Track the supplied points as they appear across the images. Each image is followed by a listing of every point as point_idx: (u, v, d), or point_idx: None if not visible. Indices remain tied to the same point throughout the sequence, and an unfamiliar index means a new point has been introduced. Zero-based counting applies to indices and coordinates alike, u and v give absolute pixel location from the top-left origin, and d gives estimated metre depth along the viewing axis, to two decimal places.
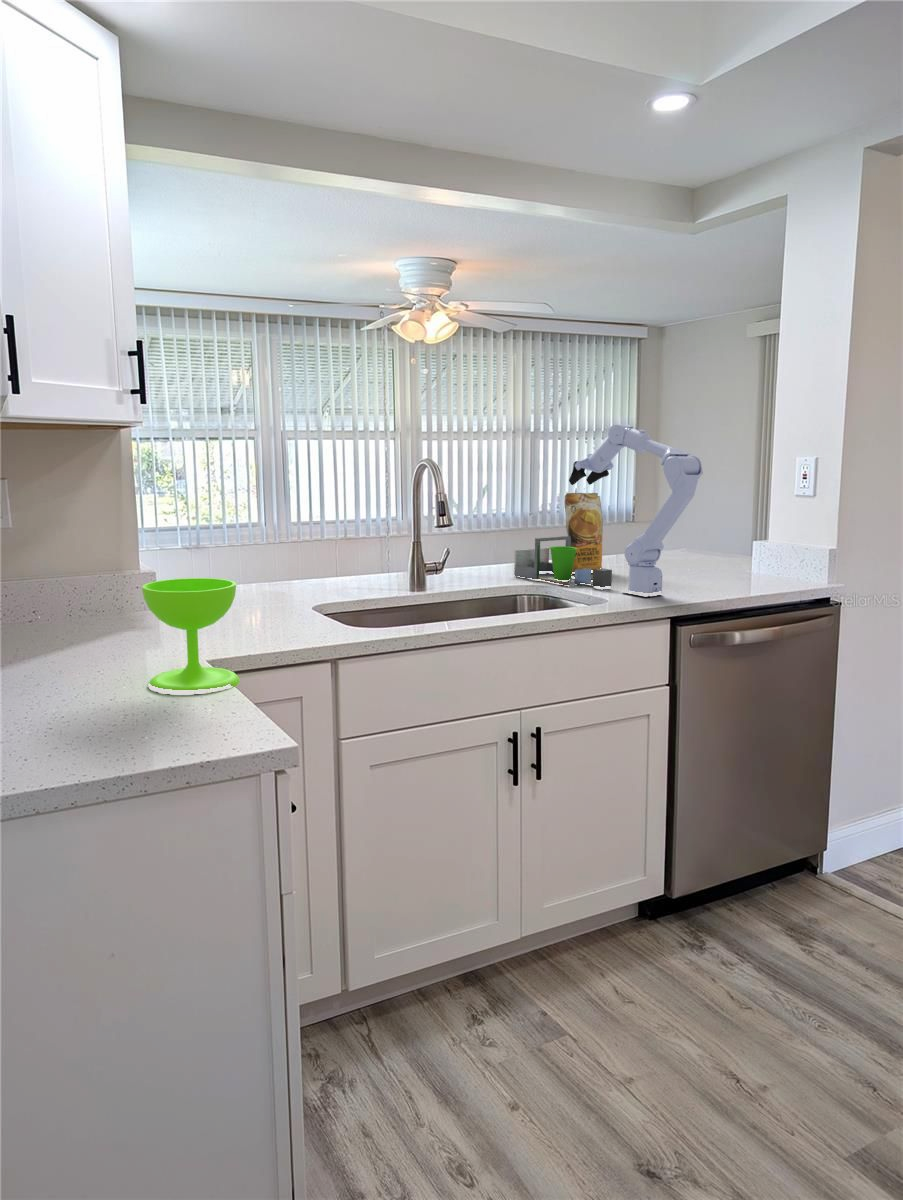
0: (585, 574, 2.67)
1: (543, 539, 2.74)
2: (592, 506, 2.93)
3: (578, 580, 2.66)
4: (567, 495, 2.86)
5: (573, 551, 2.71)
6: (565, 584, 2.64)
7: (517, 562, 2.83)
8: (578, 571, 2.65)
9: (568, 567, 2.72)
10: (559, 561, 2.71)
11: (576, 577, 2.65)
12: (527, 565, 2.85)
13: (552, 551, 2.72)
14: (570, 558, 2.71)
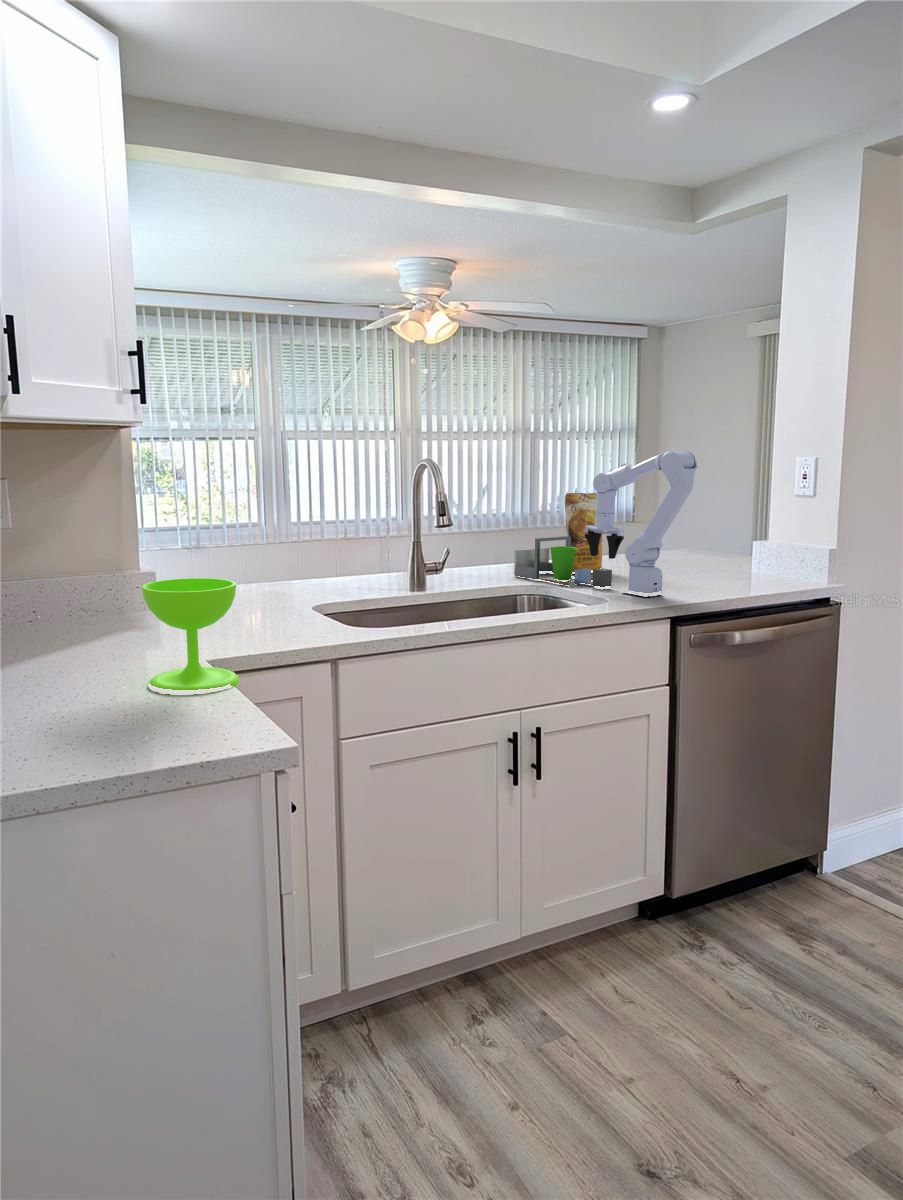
0: (585, 574, 2.67)
1: (543, 539, 2.74)
2: (592, 506, 2.93)
3: (578, 580, 2.66)
4: (567, 495, 2.86)
5: (573, 551, 2.71)
6: (565, 584, 2.64)
7: (517, 562, 2.83)
8: (578, 571, 2.65)
9: (568, 567, 2.72)
10: (559, 561, 2.71)
11: (576, 577, 2.65)
12: (527, 565, 2.85)
13: (552, 551, 2.72)
14: (570, 558, 2.71)
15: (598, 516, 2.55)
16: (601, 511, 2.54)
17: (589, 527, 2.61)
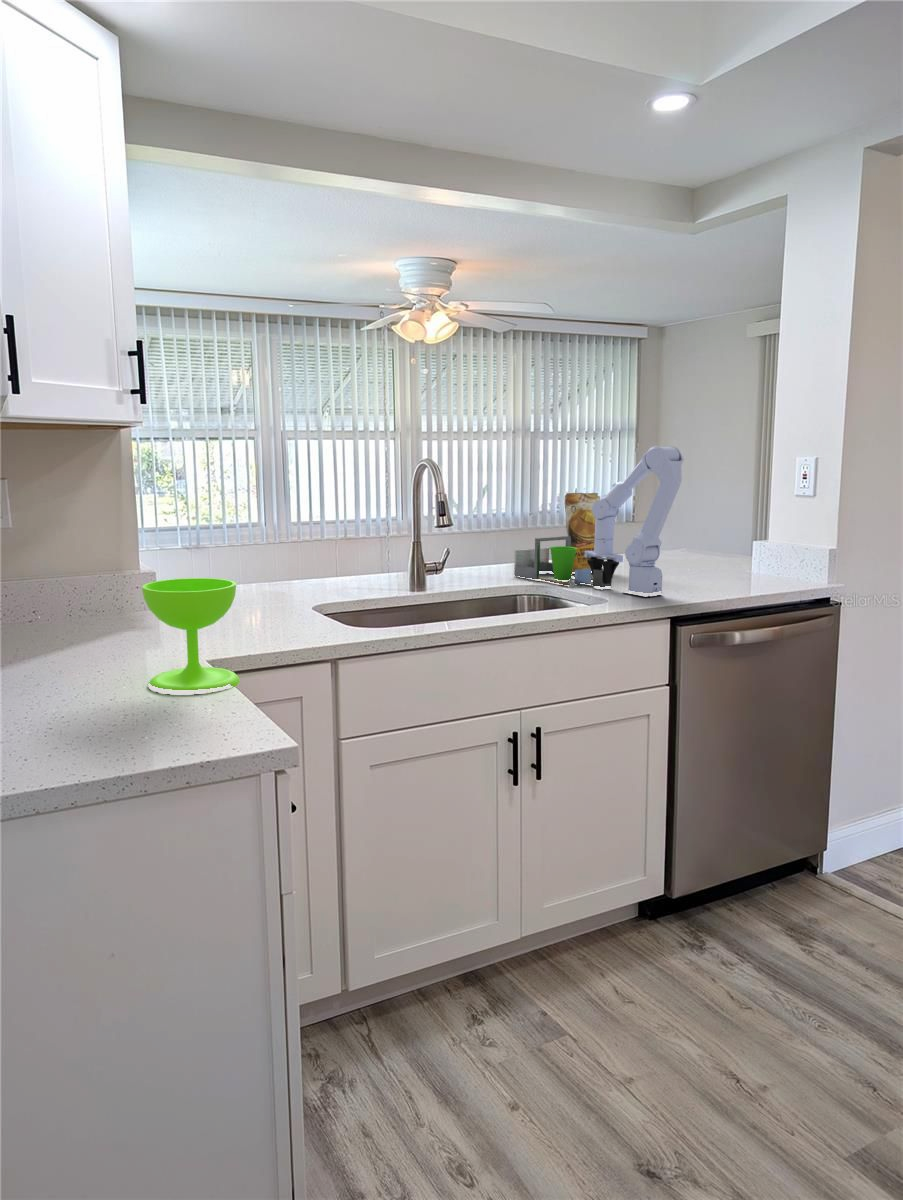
0: (585, 574, 2.67)
1: (543, 539, 2.74)
2: None
3: (578, 580, 2.66)
4: (567, 495, 2.86)
5: (573, 551, 2.71)
6: (565, 584, 2.64)
7: (517, 562, 2.83)
8: (578, 571, 2.65)
9: (568, 567, 2.72)
10: (559, 561, 2.71)
11: (576, 577, 2.65)
12: (527, 565, 2.85)
13: (552, 551, 2.72)
14: (570, 558, 2.71)
15: (597, 542, 2.57)
16: (600, 537, 2.56)
17: (588, 553, 2.62)
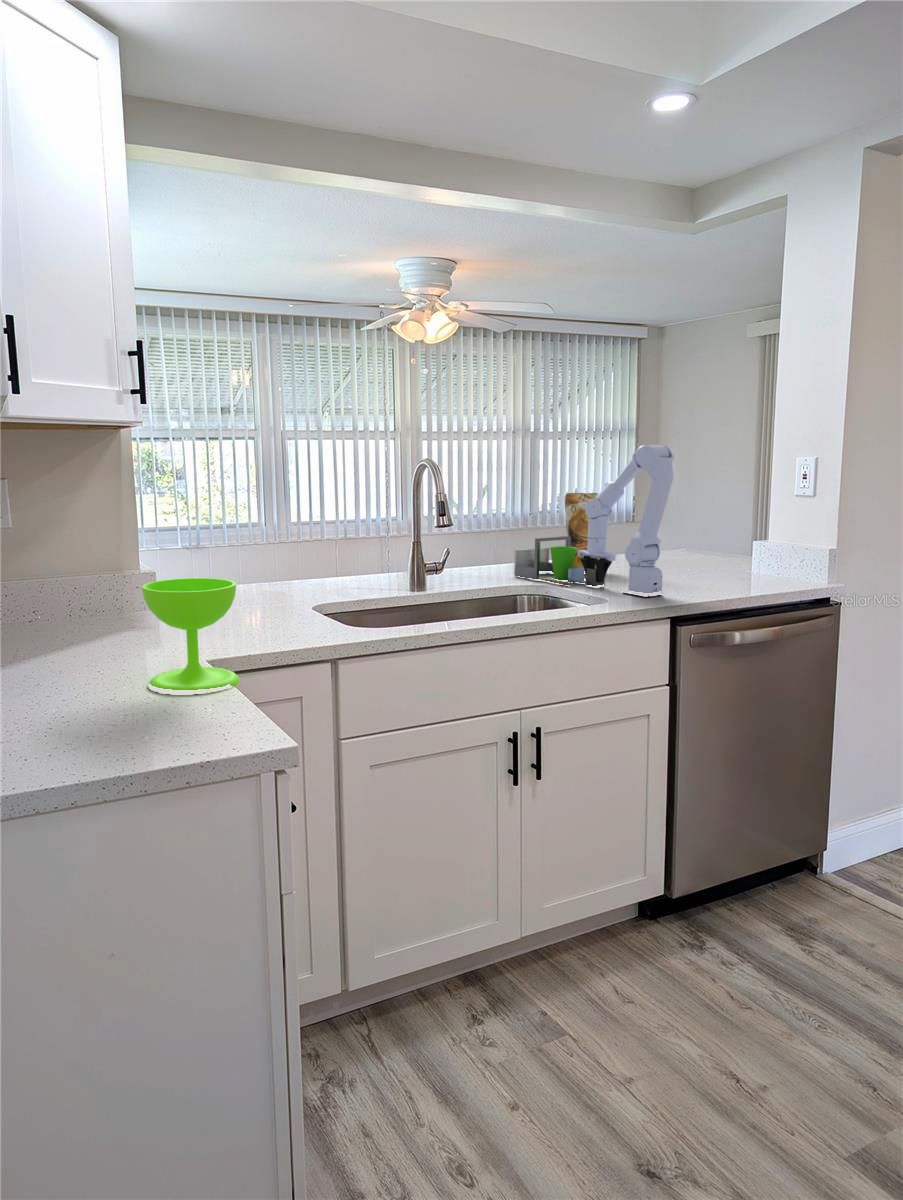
0: (578, 573, 2.69)
1: (543, 539, 2.74)
2: None
3: (571, 579, 2.68)
4: (567, 495, 2.86)
5: (573, 551, 2.71)
6: (565, 584, 2.64)
7: (517, 562, 2.83)
8: (571, 570, 2.67)
9: (568, 567, 2.72)
10: (559, 561, 2.71)
11: (569, 576, 2.68)
12: (527, 565, 2.85)
13: (552, 551, 2.72)
14: (570, 558, 2.71)
15: (590, 541, 2.59)
16: (593, 536, 2.58)
17: (581, 551, 2.65)
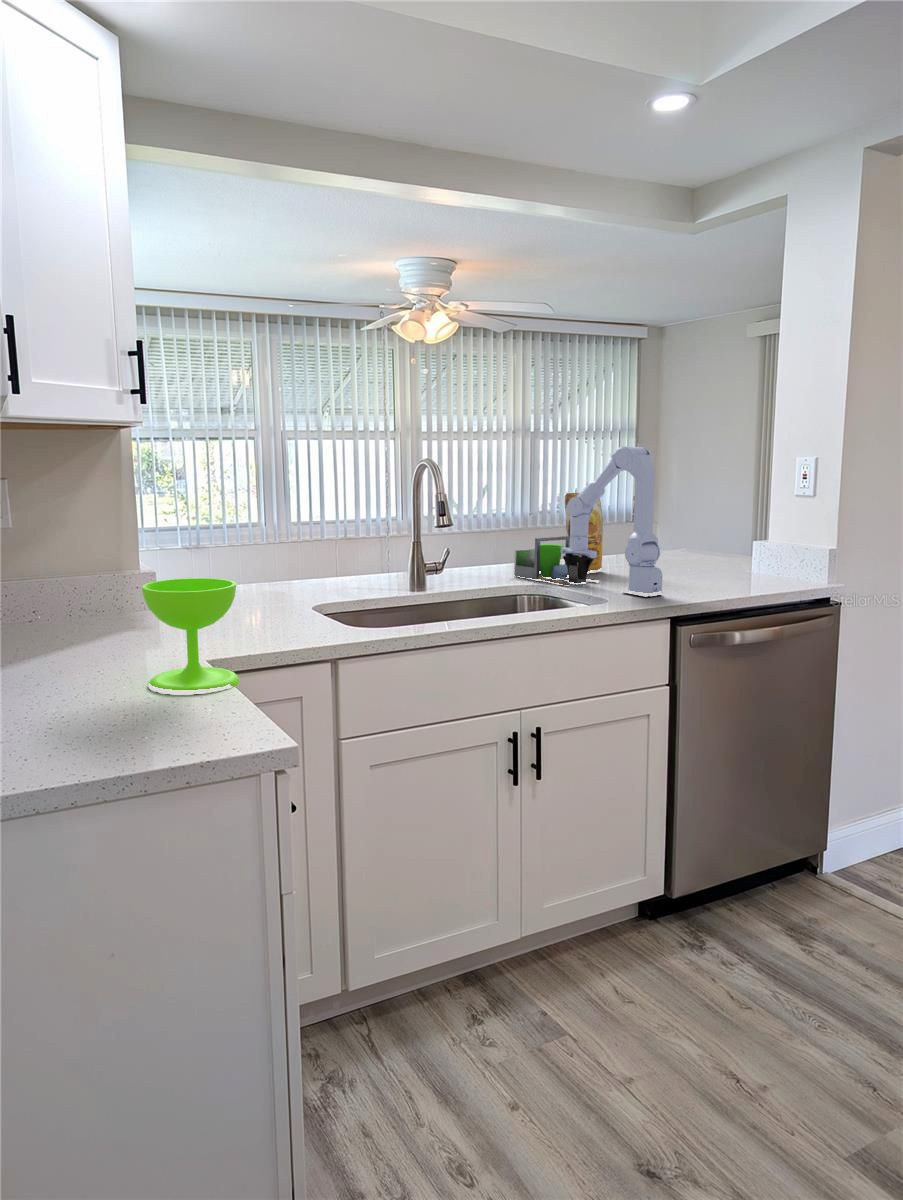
0: (561, 570, 2.76)
1: (543, 539, 2.74)
2: None
3: (554, 576, 2.74)
4: (567, 495, 2.86)
5: (559, 549, 2.76)
6: (565, 584, 2.64)
7: (517, 562, 2.83)
8: (554, 567, 2.74)
9: None
10: (545, 558, 2.76)
11: (553, 573, 2.74)
12: (527, 565, 2.85)
13: None
14: (556, 556, 2.76)
15: (572, 539, 2.66)
16: (574, 534, 2.65)
17: (564, 549, 2.71)
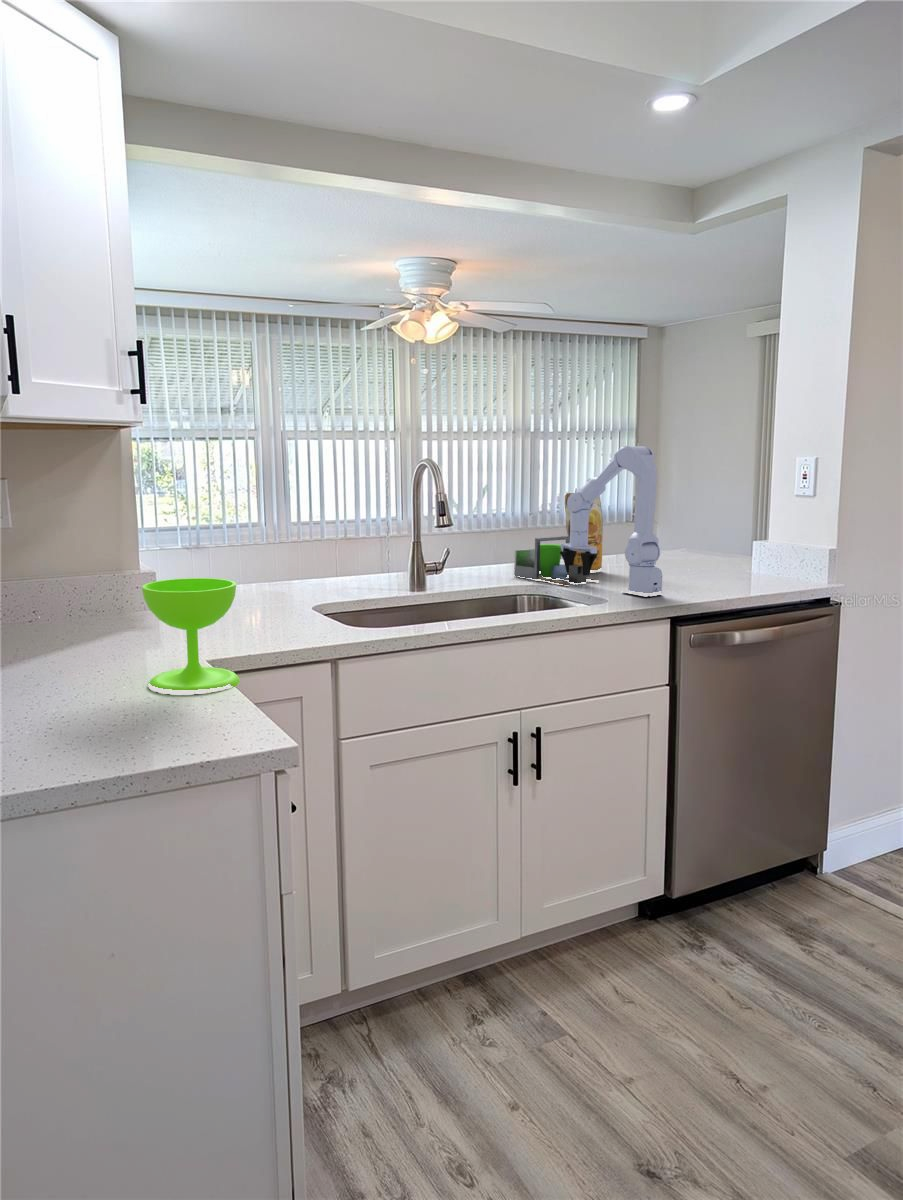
0: (561, 570, 2.76)
1: (543, 539, 2.74)
2: None
3: (554, 576, 2.74)
4: (567, 495, 2.86)
5: (559, 549, 2.76)
6: (565, 584, 2.64)
7: (517, 562, 2.83)
8: (554, 567, 2.74)
9: None
10: (545, 558, 2.76)
11: (553, 573, 2.74)
12: (527, 565, 2.85)
13: None
14: (556, 556, 2.76)
15: (572, 534, 2.65)
16: (574, 530, 2.64)
17: (564, 545, 2.71)
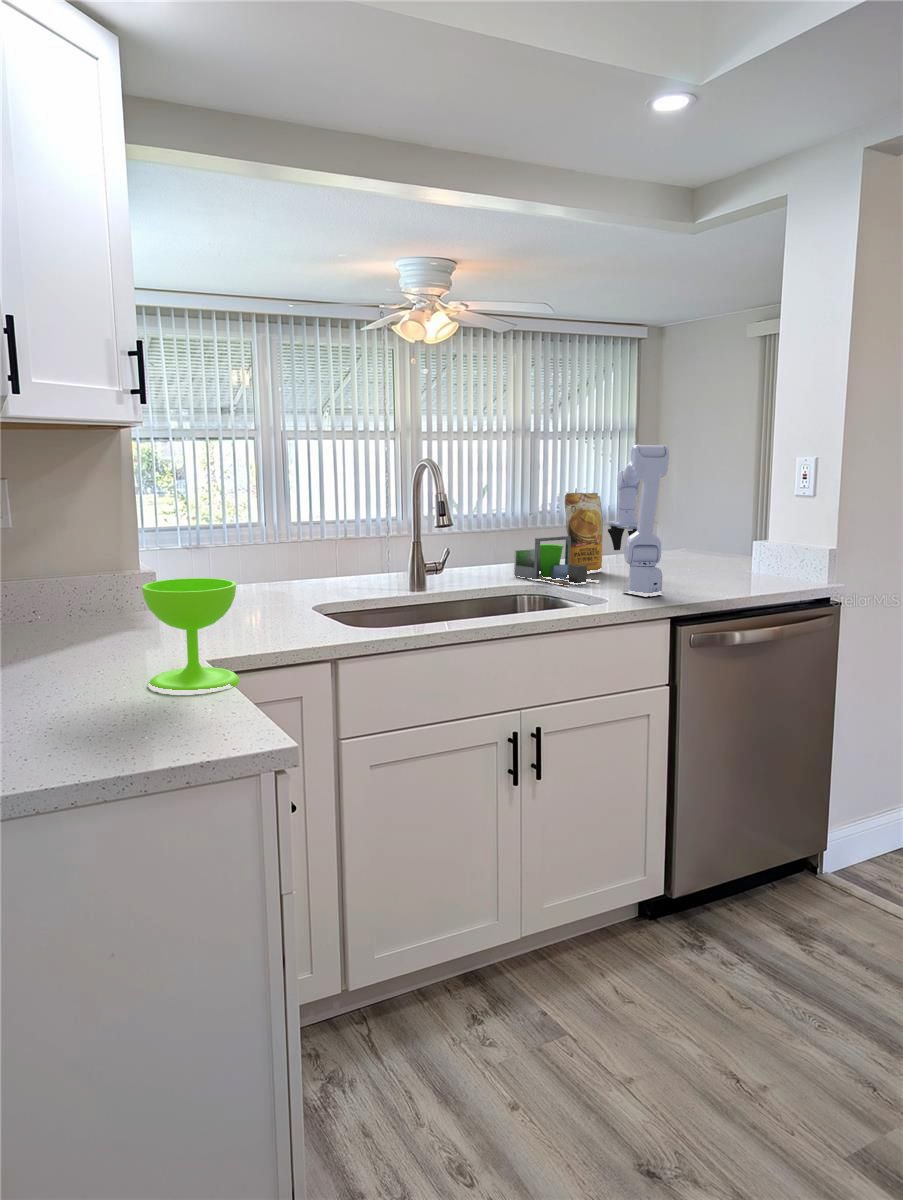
0: (561, 570, 2.76)
1: (543, 539, 2.74)
2: (592, 506, 2.93)
3: (554, 576, 2.74)
4: (567, 495, 2.86)
5: (559, 549, 2.76)
6: (565, 584, 2.64)
7: (517, 562, 2.83)
8: (554, 567, 2.74)
9: None
10: (545, 558, 2.76)
11: (553, 573, 2.74)
12: (527, 565, 2.85)
13: None
14: (556, 556, 2.76)
15: (620, 512, 2.67)
16: (619, 507, 2.67)
17: (612, 522, 2.72)
